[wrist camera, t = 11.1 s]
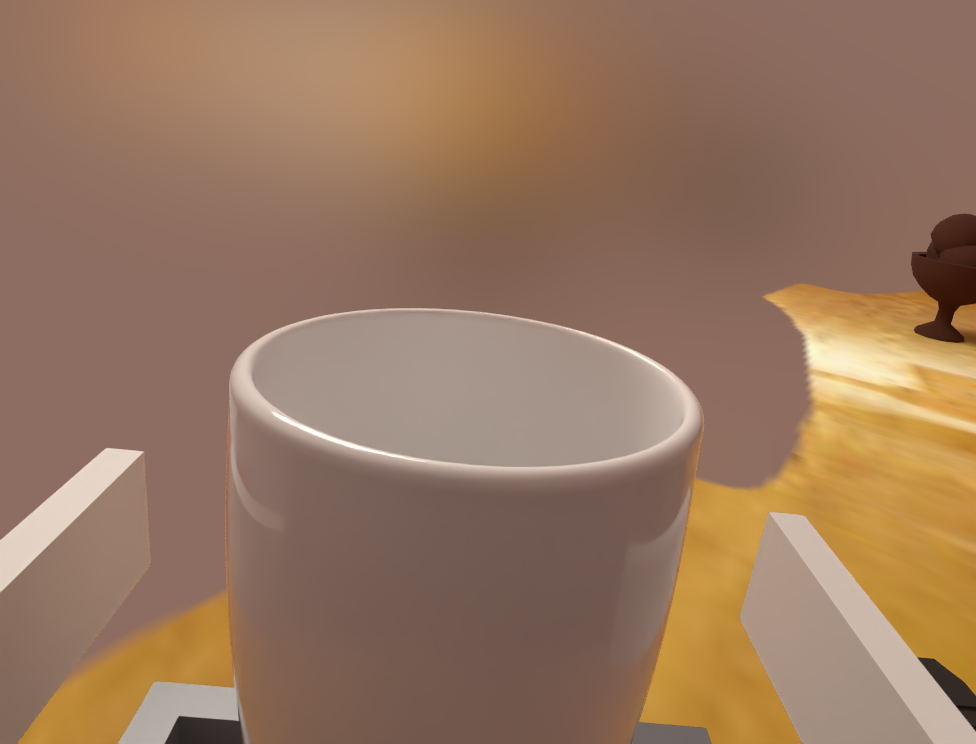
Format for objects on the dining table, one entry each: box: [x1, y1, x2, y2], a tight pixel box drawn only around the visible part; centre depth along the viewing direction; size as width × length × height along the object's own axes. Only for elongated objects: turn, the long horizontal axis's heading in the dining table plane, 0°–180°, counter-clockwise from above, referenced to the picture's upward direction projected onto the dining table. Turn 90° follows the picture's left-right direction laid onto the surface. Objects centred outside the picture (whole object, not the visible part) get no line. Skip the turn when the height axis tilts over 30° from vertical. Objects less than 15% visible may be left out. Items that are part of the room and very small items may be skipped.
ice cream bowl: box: [911, 214, 976, 343], centre depth 88 cm, size 11×11×15 cm
